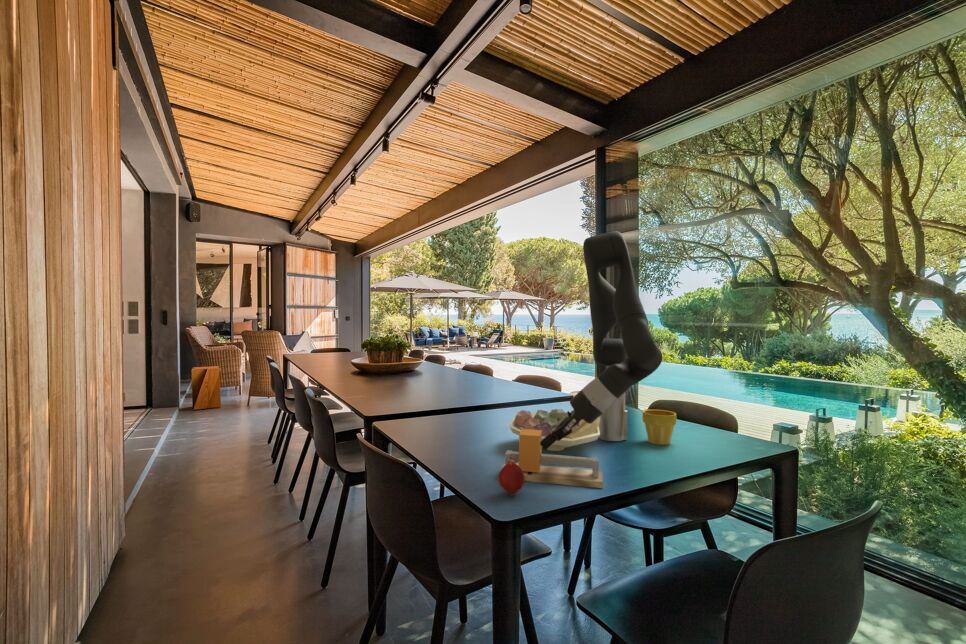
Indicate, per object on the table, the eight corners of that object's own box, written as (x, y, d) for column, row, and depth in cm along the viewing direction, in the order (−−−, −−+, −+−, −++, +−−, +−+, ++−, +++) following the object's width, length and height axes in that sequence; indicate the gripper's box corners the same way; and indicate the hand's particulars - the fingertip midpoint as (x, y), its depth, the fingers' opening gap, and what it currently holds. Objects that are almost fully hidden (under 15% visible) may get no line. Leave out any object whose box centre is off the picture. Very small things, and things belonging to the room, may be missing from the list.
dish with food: (611, 463, 127) (612, 412, 127) (510, 461, 128) (511, 410, 128) (590, 437, 155) (591, 395, 155) (507, 435, 156) (507, 393, 155)
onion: (508, 487, 108) (509, 454, 108) (529, 494, 105) (529, 459, 105) (493, 495, 104) (493, 459, 104) (514, 502, 100) (514, 465, 100)
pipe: (598, 473, 115) (598, 457, 115) (598, 478, 112) (598, 461, 112) (507, 465, 120) (507, 450, 120) (504, 469, 117) (505, 453, 117)
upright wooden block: (541, 464, 119) (541, 430, 119) (538, 472, 113) (539, 436, 113) (522, 463, 120) (522, 428, 120) (518, 470, 115) (519, 434, 114)
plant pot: (637, 437, 155) (638, 408, 155) (669, 438, 155) (669, 409, 155) (647, 446, 145) (648, 415, 145) (681, 447, 145) (681, 416, 144)
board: (601, 476, 117) (602, 470, 117) (602, 488, 109) (603, 481, 109) (504, 467, 122) (504, 461, 122) (499, 478, 115) (499, 471, 115)
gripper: (583, 384, 120) (535, 428, 123) (582, 393, 107) (529, 441, 110) (603, 406, 119) (555, 449, 122) (605, 417, 106) (551, 465, 109)
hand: (542, 445), depth 116 cm, fingers closed
